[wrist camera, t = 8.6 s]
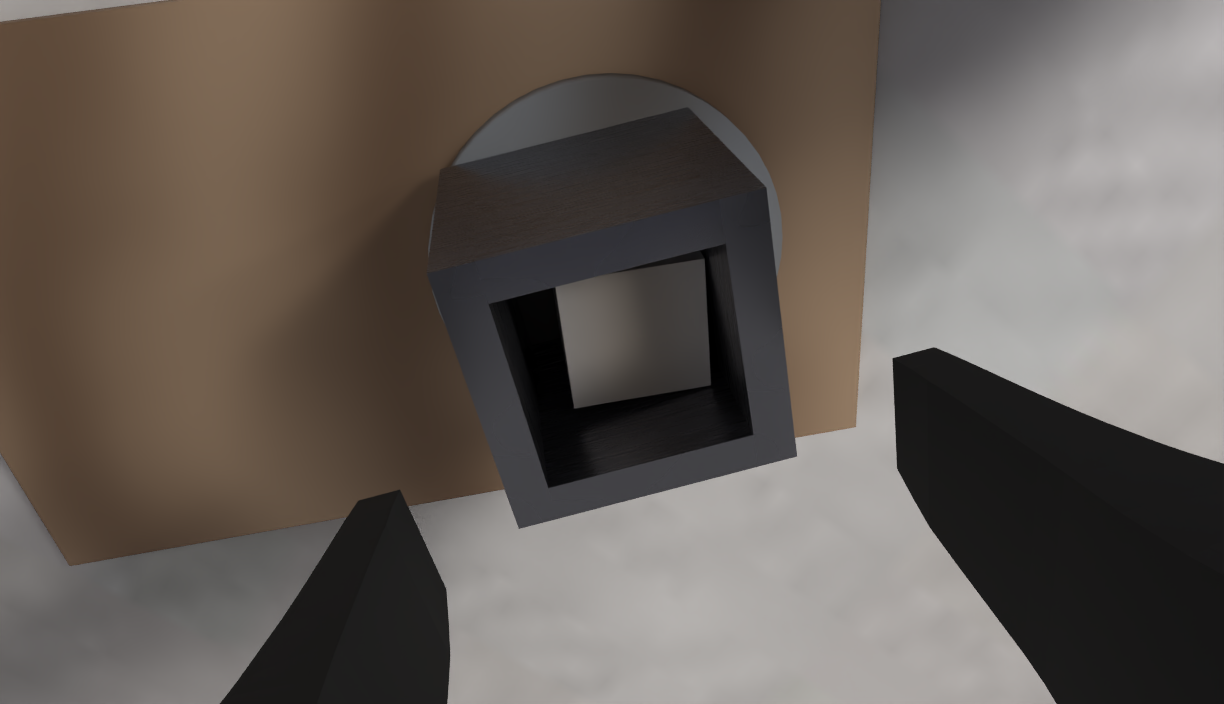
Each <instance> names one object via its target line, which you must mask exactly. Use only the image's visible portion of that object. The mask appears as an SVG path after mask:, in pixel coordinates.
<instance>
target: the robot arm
mask: <svg viewBox="0 0 1224 704" xmlns="http://www.w3.org/2000/svg"><path fill="white" fill-rule="evenodd" d="M893 380H894V404H895V428H896V452H897V469H898V471H899V473H900V475H901V476H902V478H903V480H904V482H905V484H906V486H907V488H908V489H909V491H910V493H911V495H912V497H913V499H914V501H915V502H916V504H917V506H918V508H919V509H920V511H921V513H922V515H923V516H924V518H925V520H926V521H927V523H928V525H929V527H930V528H931V529H932V531H933V532H934V534H935V535H936V536H937V538H938V539H939V541H940V542H941V543H942V545H943V546H944V547H945V549H946V550H947V551H948V553H949V554H950V555H951V557H952V558H953V560H954V561H955V562H956V564H957V565H958V566H959V568H960V569H961V570H962V572H963V573H964V574H965V576H966V577H967V578H968V580H969V581H970V582H971V584H972V585H973V586H974V588H975V589H976V590H977V592H978V593H979V594H980V596H981V597H982V598H983V600H984V601H985V602H986V604H987V605H988V606H989V608H990V609H991V610H992V612H993V613H994V614H995V616H996V617H997V618H998V620H999V621H1000V622H1001V624H1002V625H1003V626H1004V628H1005V629H1006V630H1007V632H1008V633H1009V634H1010V636H1011V637H1012V638H1013V640H1014V641H1015V642H1016V644H1017V645H1018V646H1019V648H1020V649H1021V650H1022V652H1023V653H1024V655H1025V656H1026V657H1027V659H1028V660H1029V662H1030V663H1031V665H1032V666H1033V668H1034V669H1035V671H1036V672H1037V673H1038V675H1039V676H1040V678H1041V679H1042V681H1043V682H1044V684H1045V685H1046V687H1047V689H1048V690H1049V692H1050V693H1051V695H1052V697H1053V698H1054V700H1055V702H1056V703H1057V704H1224V464H1223V463H1220V462H1216V461H1213V460H1210V459H1207V458H1203V457H1200V456H1197V455H1194V454H1191V453H1187V452H1185V451H1182V450H1179V449H1176V448H1173V447H1170V446H1167V445H1164V444H1161V443H1158V442H1156V441H1153V440H1150V439H1148V438H1145V437H1142V436H1140V435H1137V434H1135V433H1132V432H1129V431H1127V430H1124V429H1121V428H1119V427H1116V426H1113V425H1111V424H1108V423H1106V422H1103V421H1101V420H1098V419H1096V418H1093V417H1091V416H1089V415H1086V414H1084V413H1081V412H1079V411H1076V410H1074V409H1072V408H1069V407H1067V406H1065V405H1062V404H1060V403H1058V402H1055V401H1053V400H1051V399H1049V398H1046V397H1044V396H1042V395H1039V394H1037V393H1035V392H1033V391H1031V390H1028V389H1026V388H1024V387H1022V386H1019V385H1017V384H1015V383H1013V382H1011V381H1009V380H1006V379H1004V378H1002V377H1000V376H998V375H996V374H993V373H991V372H989V371H987V370H985V369H982V368H980V367H978V366H976V365H974V364H972V363H969V362H967V361H965V360H963V359H961V358H958V357H956V356H954V355H951V354H949V353H947V352H944V351H942V350H939V349H937V348H930V349H926V350H922V351H918V352H915V353H911V354H907V355H903V356H900V357H896V358H893ZM449 668H450V641H449V621H448V607H447V592H446V588H445V586H444V583H443V581H442V579H441V577H440V575H439V573H438V570H437V568H436V566H435V564H434V562H433V560H432V557H431V555H430V553H429V551H428V549H427V547H426V544H425V542H424V540H423V538H422V536H421V534H420V532H419V529H418V527H417V525H416V523H415V521H414V519H413V516H412V514H411V512H410V510H409V508H408V506H407V503H406V501H405V499H404V497H403V495H402V493H401V491H400V490H396V491H392V492H389V493H385V494H381V495H377V496H374V497H370V498H366V499H362V500H358V502H357V503H356V505H355V506H354V508H353V509H352V511H351V512H350V514H349V515H348V517H347V518H346V520H345V522H344V523H343V525H342V526H341V528H340V529H339V531H338V533H337V534H336V536H335V537H334V539H333V541H332V542H331V544H330V545H329V547H328V549H327V550H326V552H325V553H324V555H323V557H322V558H321V560H320V561H319V563H318V565H317V566H316V568H315V569H314V571H313V572H312V574H311V576H310V577H309V579H308V580H307V582H306V583H305V585H304V586H303V588H302V589H301V591H300V593H299V594H298V596H297V597H296V599H295V600H294V602H293V603H292V605H291V606H290V608H289V609H288V611H287V612H286V614H285V615H284V617H283V618H282V620H281V621H280V623H279V624H278V625H277V627H276V628H275V630H274V631H273V632H272V634H271V635H270V637H269V638H268V639H267V641H266V642H265V644H264V645H263V646H262V648H261V649H260V650H259V652H258V653H257V655H256V656H255V657H254V659H253V660H252V662H251V663H250V664H249V666H248V667H247V669H246V670H245V671H244V673H243V674H242V676H241V677H240V678H239V680H238V681H237V682H236V684H235V685H234V686H233V688H232V689H231V690H230V691H229V693H228V694H227V695H226V697H225V698H224V699H223V700H222V702H221V703H220V704H447V699H448V684H449Z"/></svg>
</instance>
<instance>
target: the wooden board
mask: <svg viewBox="0 0 1224 704" xmlns="http://www.w3.org/2000/svg"><path fill="white" fill-rule="evenodd" d="M880 6H881V0H166V1H159V2H151V3H143V4H135V5H127V6H120V7H112V8H104V9H96V10H88V11H81V12H73V13H65V14H57V15H50V16H42V17H34V18H26V19H18V20H11V21H3V22H0V453H1V455H2V456H3V458H4V460H5V461H6V463H7V464H8V466H9V468H10V469H11V471H12V473H13V474H14V476H15V478H16V479H17V481H18V482H19V484H20V486H21V487H22V489H23V491H24V492H25V494H26V495H27V497H28V499H29V500H30V502H31V504H32V505H33V507H34V509H35V510H36V512H37V513H38V515H39V517H40V518H41V520H42V522H43V523H44V525H45V526H46V528H47V530H48V531H49V533H50V535H51V536H52V538H53V540H54V541H55V543H56V544H57V546H58V548H59V549H60V551H61V553H62V554H63V556H64V557H65V559H66V561H67V562H68V564H69V566H73V565H79V564H84V563H90V562H96V561H101V560H107V559H113V558H118V557H124V556H129V555H135V554H141V553H146V552H152V551H158V550H163V549H169V548H175V547H180V546H186V545H192V544H197V543H203V542H209V541H214V540H220V539H226V538H231V537H237V536H243V535H248V534H254V533H259V532H265V531H271V530H276V529H282V528H288V527H293V526H299V525H305V524H310V523H316V522H322V521H327V520H333V519H339V518H344V517H348V515H349V514H350V512H351V511H352V509H353V508H354V506H355V505H356V503H357V502H358V500H362V499H366V498H370V497H374V496H377V495H381V494H385V493H389V492H392V491H396V490H400V491H401V493H402V495H403V497H404V499H405V501H406V503H407V506H412V505H418V504H423V503H429V502H435V501H440V500H446V499H452V498H457V497H463V496H469V495H474V494H480V493H486V492H491V491H497V490H502V489H504V486H503V483H502V480H501V478H500V475H499V472H498V469H497V467H496V464H495V461H494V458H493V456H492V453H491V450H490V447H489V444H488V442H487V439H486V436H485V433H484V431H483V428H482V425H481V422H480V420H479V417H478V414H477V411H476V409H475V406H474V403H473V400H472V398H471V395H470V392H469V389H468V387H467V384H466V381H465V378H464V375H463V373H462V370H461V367H460V364H459V362H458V359H457V356H456V353H455V351H454V348H453V345H452V342H451V340H450V337H449V334H448V331H447V329H446V326H445V323H444V320H443V318H442V315H441V312H440V309H439V306H438V304H437V301H436V298H435V295H434V293H433V290H432V287H431V284H430V282H429V279H428V276H427V267H428V259H429V251H430V244H431V236H432V228H433V221H434V213H435V205H436V198H437V190H438V182H439V175H440V169H443V168H447V167H451V166H455V165H459V164H463V163H467V162H471V161H475V160H479V159H483V158H487V157H491V156H495V155H499V154H503V153H506V152H510V151H514V150H518V149H522V148H526V147H530V146H534V145H538V144H542V143H546V142H550V141H554V140H558V139H562V138H566V137H570V136H574V135H578V134H582V133H586V132H590V131H594V130H598V129H602V128H606V127H610V126H614V125H618V124H622V123H626V122H630V121H634V120H638V119H642V118H646V117H650V116H654V115H658V114H662V113H666V112H670V111H674V110H678V109H682V108H686V107H689V108H690V109H691V110H692V111H693V112H694V113H695V115H696V116H697V117H698V118H699V119H700V120H701V121H702V122H703V123H704V124H705V125H706V126H707V127H708V128H709V129H710V130H711V131H712V132H713V133H714V134H715V135H716V136H717V137H718V138H719V139H720V140H721V141H722V142H723V143H724V144H725V145H726V146H727V147H728V148H729V149H730V150H731V152H732V153H733V154H734V155H735V156H736V157H737V158H738V159H739V160H740V161H741V162H742V163H743V164H744V165H745V166H746V167H747V168H748V169H749V170H750V171H751V172H752V173H753V174H754V175H755V176H756V177H757V178H758V179H759V180H760V181H761V182H762V183H763V184H764V185H765V186H766V187H767V196H768V205H769V214H770V222H771V231H772V240H773V249H774V258H775V267H776V276H777V284H778V293H779V302H780V311H781V320H782V329H783V337H784V346H785V355H786V364H787V373H788V382H789V390H790V399H791V408H792V417H793V426H794V435H795V438H796V437H802V436H808V435H813V434H819V433H825V432H830V431H836V430H842V429H847V428H853V427H856V414H857V397H858V380H859V363H860V346H861V329H862V312H863V295H864V278H865V261H866V244H867V227H868V210H869V193H870V176H871V159H872V142H873V125H874V108H875V91H876V74H877V57H878V40H879V23H880ZM517 300H518V303H519V307H520V310H521V313H522V317H523V320H524V323H525V327H526V330H527V333H528V336H529V340H530V343H531V345H535V344H539V343H543V342H546V341H550V340H554V339H558V338H561V342H562V347H563V352H564V357H565V363H566V368H567V373H568V378H569V383H570V389H571V394H572V399H573V404H574V409H575V408H581V407H586V406H592V405H598V404H604V403H610V402H616V401H622V400H627V399H633V398H639V397H645V396H651V395H657V394H663V393H668V392H674V391H680V390H686V389H692V388H698V387H704V386H709V385H711V376H710V357H709V337H708V318H707V298H706V278H705V259H704V257H703V255H702V254H701V252H700V251H695V252H691V253H687V254H683V255H680V256H676V257H672V258H668V259H664V260H660V261H656V262H652V263H648V264H644V265H640V266H636V267H632V268H628V269H624V270H621V271H617V272H613V273H609V274H605V275H601V276H597V277H593V278H589V279H585V280H581V281H577V282H573V283H569V284H566V285H562V286H558V287H554V288H550V289H546V290H542V291H538V292H534V293H530V294H526V295H522V296H518V297H517Z"/></svg>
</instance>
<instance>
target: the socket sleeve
mask: <svg viewBox="0 0 1224 704" xmlns="http://www.w3.org/2000/svg"><path fill="white" fill-rule="evenodd" d="M695 251H700V252H701V254H702V255H703V257H704V259H705V278H706V298H707V318H708V337H709V357H710V376H711V385H709V386H704V387H698V388H692V389H686V390H680V391H674V392H668V393H663V394H657V395H651V396H645V397H639V398H633V399H627V400H622V401H616V402H610V403H604V404H598V405H592V406H586V407H581V408H575V409H574V404H573V399H572V394H571V389H570V383H569V378H568V373H567V368H566V363H565V357H564V352H563V347H562V342H561V338H558V339H554V340H550V341H546V342H543V343H539V344H535V345H531V343H530V340H529V336H528V333H527V330H526V327H525V323H524V320H523V317H522V313H521V310H520V307H519V303H518V300H517V297H518V296H522V295H526V294H530V293H534V292H538V291H542V290H546V289H550V288H554V287H558V286H562V285H566V284H569V283H573V282H577V281H581V280H585V279H589V278H593V277H597V276H601V275H605V274H609V273H613V272H617V271H621V270H624V269H628V268H632V267H636V266H640V265H644V264H648V263H652V262H656V261H660V260H664V259H668V258H672V257H676V256H680V255H683V254H687V253H691V252H695ZM427 276H428V279H429V282H430V284H431V287H432V290H433V293H434V295H435V298H436V301H437V304H438V306H439V309H440V312H441V315H442V318H443V320H444V323H445V326H446V329H447V331H448V334H449V337H450V340H451V342H452V345H453V348H454V351H455V353H456V356H457V359H458V362H459V364H460V367H461V370H462V373H463V375H464V378H465V381H466V384H467V387H468V389H469V392H470V395H471V398H472V400H473V403H474V406H475V409H476V411H477V414H478V417H479V420H480V422H481V425H482V428H483V431H484V433H485V436H486V439H487V442H488V444H489V447H490V450H491V453H492V456H493V458H494V461H495V464H496V467H497V469H498V472H499V475H500V478H501V480H502V483H503V486H504V489H505V491H506V494H507V497H508V500H509V502H510V505H511V508H512V511H513V513H514V516H515V519H516V522H517V525H518V527H519V529H520V528H524V527H528V526H531V525H535V524H539V523H543V522H547V521H551V520H554V519H558V518H562V517H566V516H570V515H574V514H577V513H581V512H585V511H589V510H593V509H597V508H600V507H604V506H608V505H612V504H616V503H620V502H624V501H627V500H631V499H635V498H639V497H643V496H647V495H650V494H654V493H658V492H662V491H666V490H670V489H673V488H677V487H681V486H685V485H689V484H693V483H697V482H700V481H704V480H708V479H712V478H716V477H720V476H723V475H727V474H731V473H735V472H739V471H743V470H746V469H750V468H754V467H758V466H762V465H766V464H769V463H773V462H777V461H781V460H785V459H789V458H793V457H796V456H797V452H796V444H795V435H794V426H793V417H792V408H791V399H790V390H789V382H788V373H787V364H786V355H785V346H784V337H783V329H782V320H781V311H780V302H779V293H778V284H777V276H776V267H775V258H774V249H773V240H772V231H771V222H770V214H769V205H768V196H767V187H766V186H765V185H764V184H763V183H762V182H761V181H760V180H759V179H758V178H757V177H756V176H755V175H754V174H753V173H752V172H751V171H750V170H749V169H748V168H747V167H746V166H745V165H744V164H743V163H742V162H741V161H740V160H739V159H738V158H737V157H736V156H735V155H734V154H733V153H732V152H731V150H730V149H729V148H728V147H727V146H726V145H725V144H724V143H723V142H722V141H721V140H720V139H719V138H718V137H717V136H716V135H715V134H714V133H713V132H712V131H711V130H710V129H709V128H708V127H707V126H706V125H705V124H704V123H703V122H702V121H701V120H700V119H699V118H698V117H697V116H696V115H695V113H694V112H693V111H692V110H691V109H690V108H689V107H686V108H682V109H678V110H674V111H670V112H666V113H662V114H658V115H654V116H650V117H646V118H642V119H638V120H634V121H630V122H626V123H622V124H618V125H614V126H610V127H606V128H602V129H598V130H594V131H590V132H586V133H582V134H578V135H574V136H570V137H566V138H562V139H558V140H554V141H550V142H546V143H542V144H538V145H534V146H530V147H526V148H522V149H518V150H514V151H510V152H506V153H503V154H499V155H495V156H491V157H487V158H483V159H479V160H475V161H471V162H467V163H463V164H459V165H455V166H451V167H447V168H443V169H440V175H439V182H438V190H437V198H436V205H435V213H434V221H433V228H432V236H431V244H430V251H429V259H428V267H427Z"/></svg>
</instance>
